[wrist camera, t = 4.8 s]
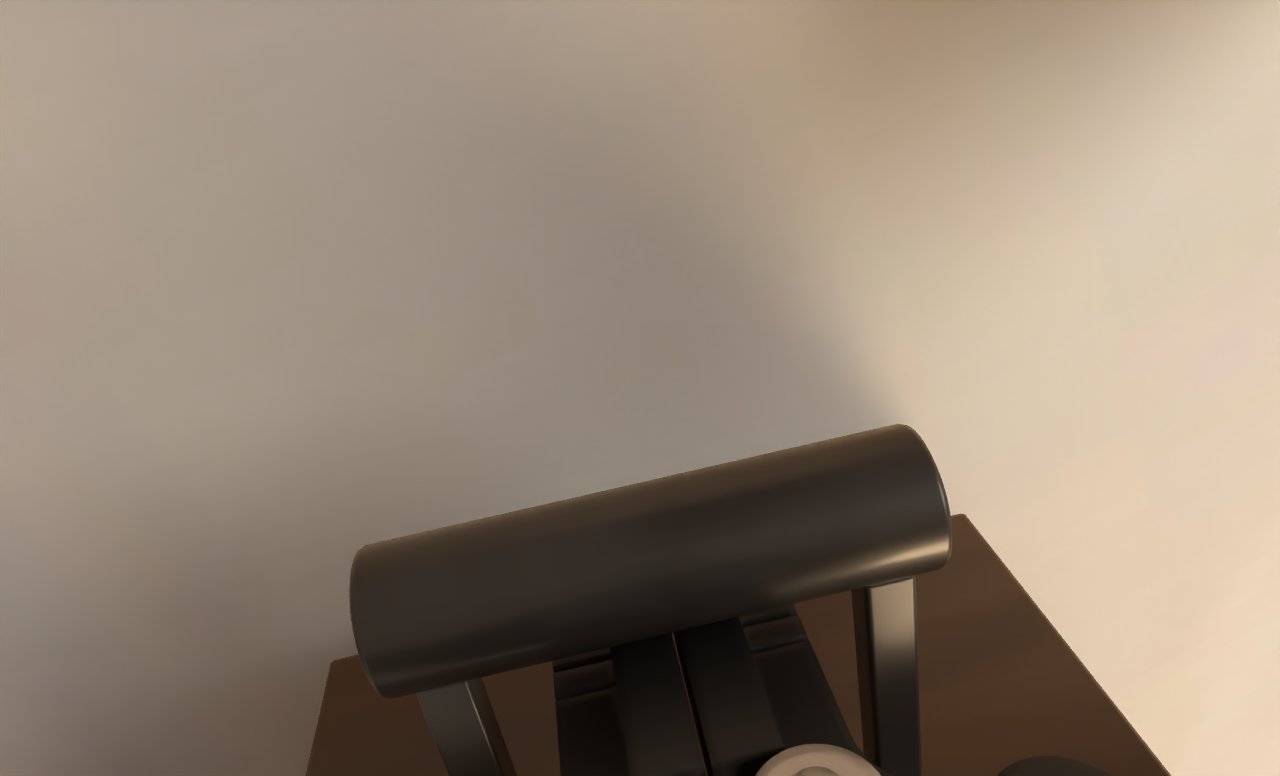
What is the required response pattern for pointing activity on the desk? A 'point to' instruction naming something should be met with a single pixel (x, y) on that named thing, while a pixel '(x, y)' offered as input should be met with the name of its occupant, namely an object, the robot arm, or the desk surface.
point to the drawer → (716, 619)
